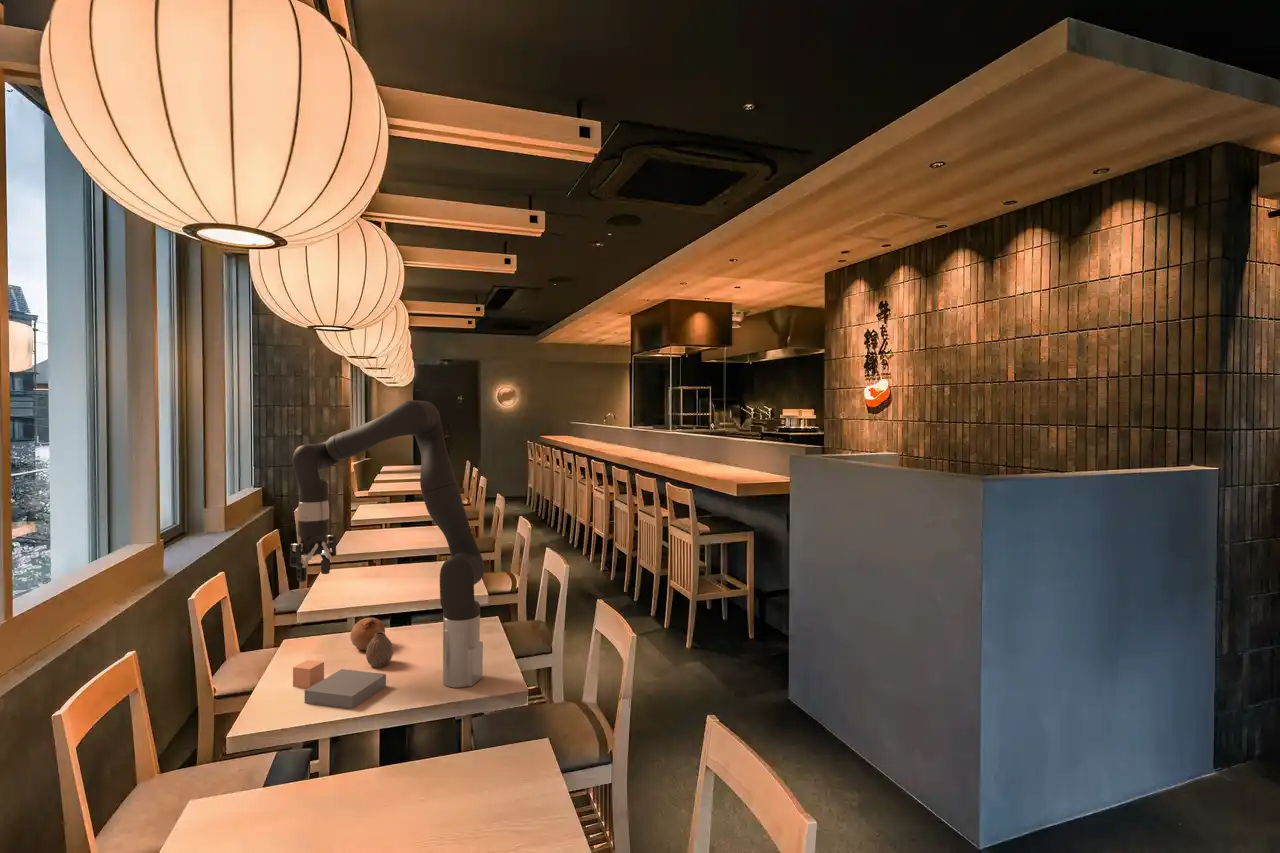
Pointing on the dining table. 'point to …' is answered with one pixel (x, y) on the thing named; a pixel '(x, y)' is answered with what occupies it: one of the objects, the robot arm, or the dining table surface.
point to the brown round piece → (365, 632)
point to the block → (308, 673)
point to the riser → (345, 688)
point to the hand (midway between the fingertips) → (313, 577)
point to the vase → (379, 650)
